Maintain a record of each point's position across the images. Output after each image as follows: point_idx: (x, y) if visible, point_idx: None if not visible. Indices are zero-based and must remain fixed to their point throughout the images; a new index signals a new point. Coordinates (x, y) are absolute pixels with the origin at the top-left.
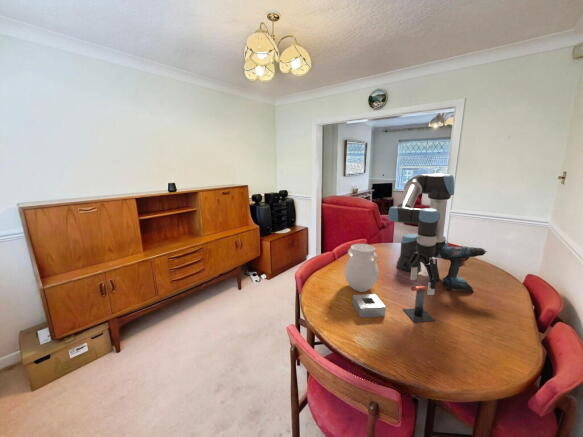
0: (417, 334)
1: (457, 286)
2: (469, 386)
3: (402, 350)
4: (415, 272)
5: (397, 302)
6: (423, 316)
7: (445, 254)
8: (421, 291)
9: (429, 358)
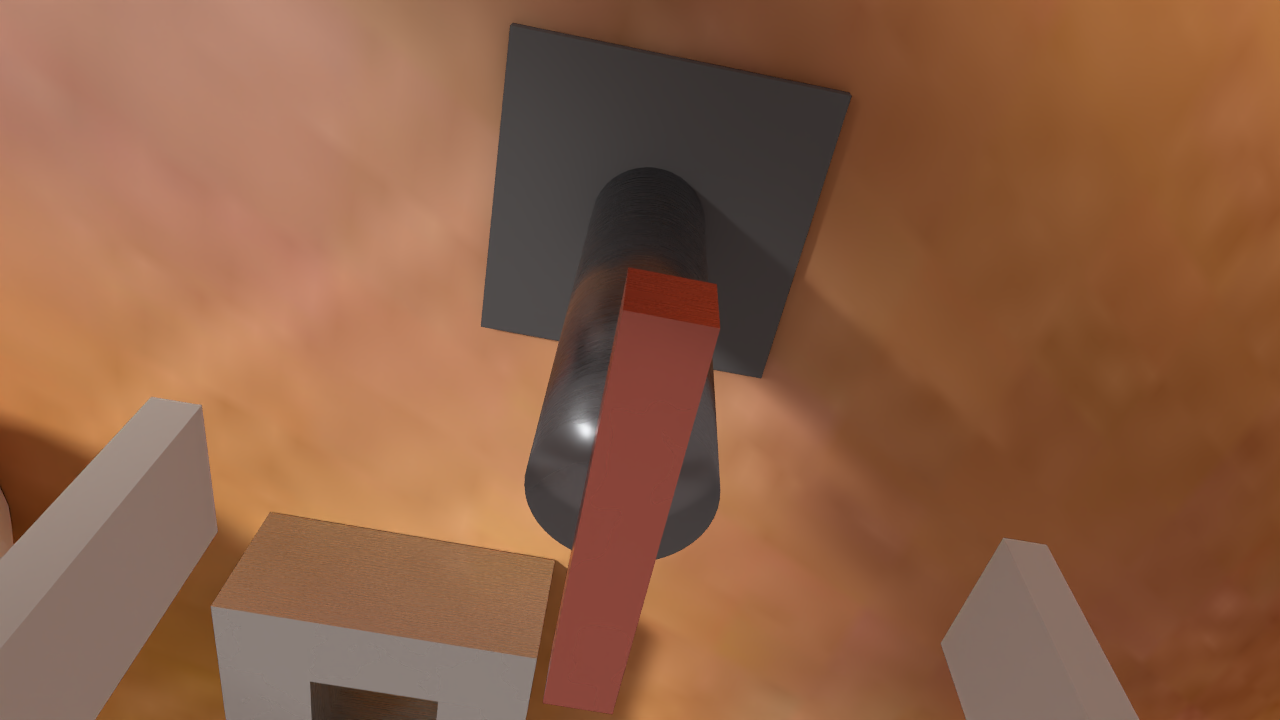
0: (933, 470)
1: None
2: None
3: None
4: (43, 659)
5: (293, 270)
6: (711, 188)
7: None
8: (694, 532)
9: (1207, 580)
